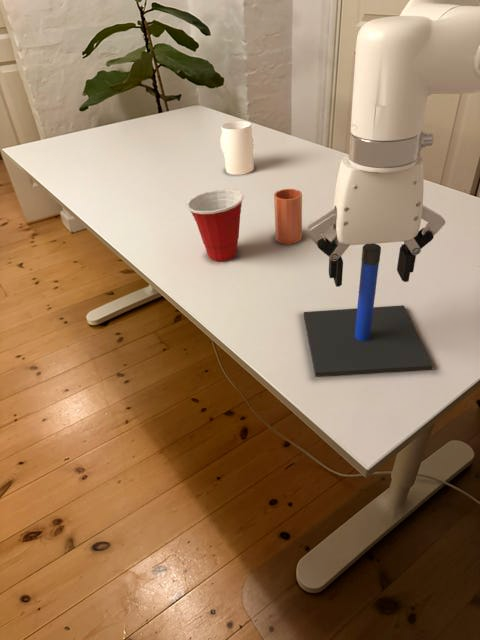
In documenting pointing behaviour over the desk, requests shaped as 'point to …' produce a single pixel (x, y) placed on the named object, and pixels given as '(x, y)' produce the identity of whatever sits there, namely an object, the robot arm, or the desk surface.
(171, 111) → the desk surface
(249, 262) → the desk surface
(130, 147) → the desk surface
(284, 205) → the pen glass
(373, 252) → the marker
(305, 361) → the desk surface
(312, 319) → the desk mat
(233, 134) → the mug
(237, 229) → the plastic cup
